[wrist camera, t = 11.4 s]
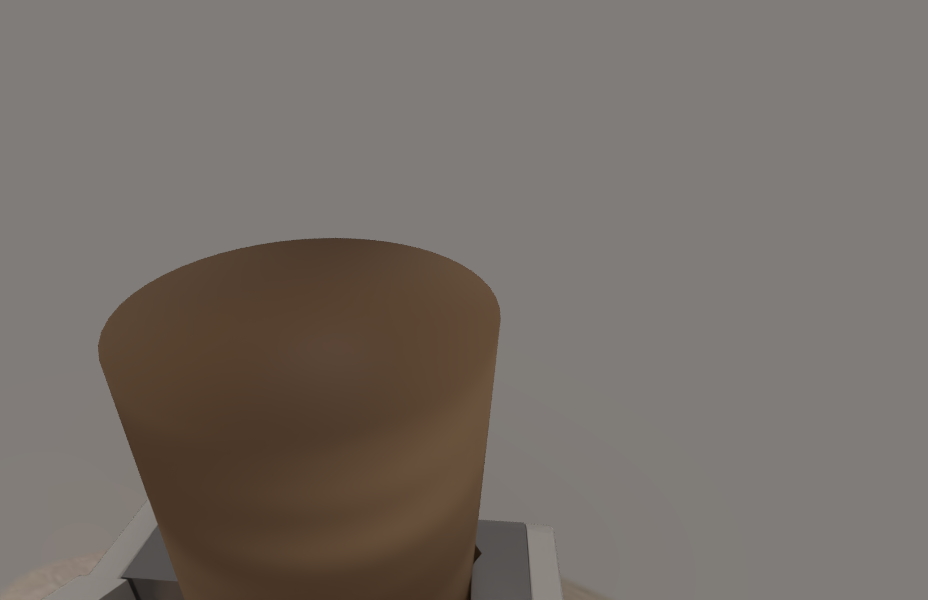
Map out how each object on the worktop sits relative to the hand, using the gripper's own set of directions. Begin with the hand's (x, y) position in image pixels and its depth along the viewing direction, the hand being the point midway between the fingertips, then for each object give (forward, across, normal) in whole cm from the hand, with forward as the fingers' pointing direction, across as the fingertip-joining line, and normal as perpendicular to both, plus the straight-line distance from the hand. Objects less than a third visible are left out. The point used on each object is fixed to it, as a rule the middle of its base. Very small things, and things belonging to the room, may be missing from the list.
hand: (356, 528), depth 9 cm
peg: (-1, 0, +8) cm, 8 cm away
